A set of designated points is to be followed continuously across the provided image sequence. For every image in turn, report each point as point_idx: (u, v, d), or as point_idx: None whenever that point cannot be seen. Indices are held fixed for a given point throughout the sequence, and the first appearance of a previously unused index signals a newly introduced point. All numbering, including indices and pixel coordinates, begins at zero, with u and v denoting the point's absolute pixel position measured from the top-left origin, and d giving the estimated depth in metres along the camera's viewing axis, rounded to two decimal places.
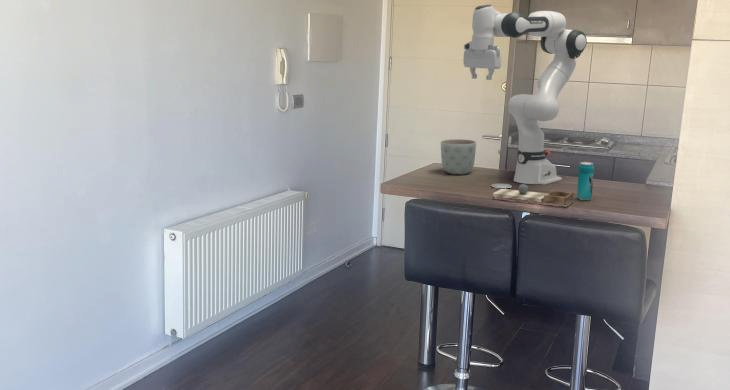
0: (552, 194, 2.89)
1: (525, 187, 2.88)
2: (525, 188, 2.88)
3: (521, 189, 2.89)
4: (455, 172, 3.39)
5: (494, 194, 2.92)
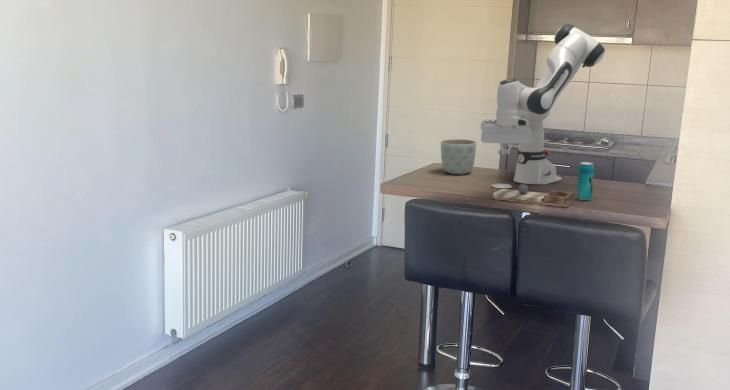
0: (552, 194, 2.89)
1: (525, 187, 2.88)
2: (525, 188, 2.88)
3: (521, 189, 2.89)
4: (455, 172, 3.39)
5: (494, 194, 2.92)
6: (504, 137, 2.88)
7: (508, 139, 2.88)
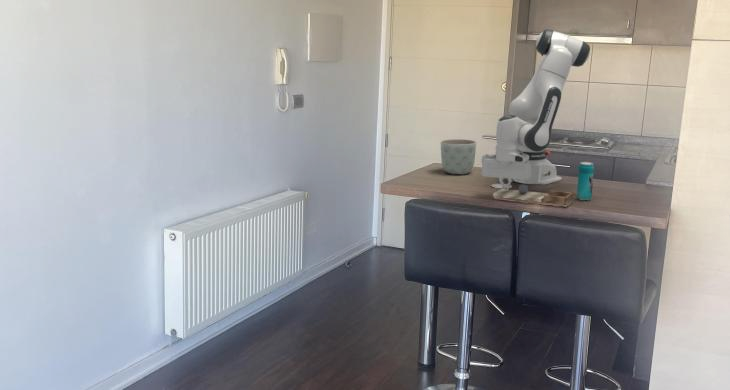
0: (552, 194, 2.89)
1: (525, 187, 2.88)
2: (525, 188, 2.88)
3: (521, 189, 2.89)
4: (455, 172, 3.39)
5: (494, 194, 2.92)
6: (503, 172, 2.91)
7: (506, 174, 2.91)
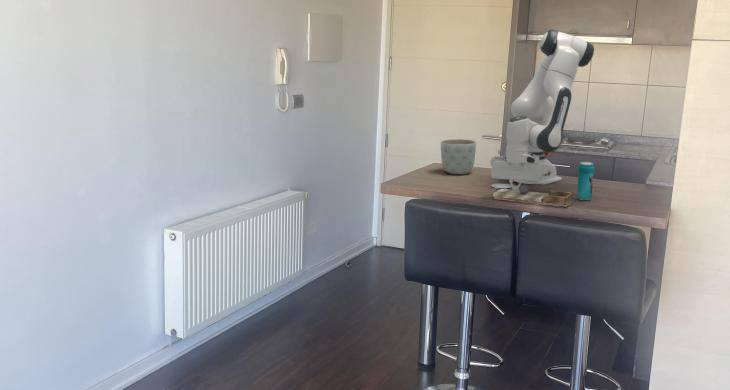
0: (552, 194, 2.89)
1: (526, 188, 2.88)
2: (526, 189, 2.88)
3: (522, 189, 2.88)
4: (455, 172, 3.39)
5: (494, 194, 2.92)
6: (513, 173, 2.89)
7: (517, 176, 2.89)
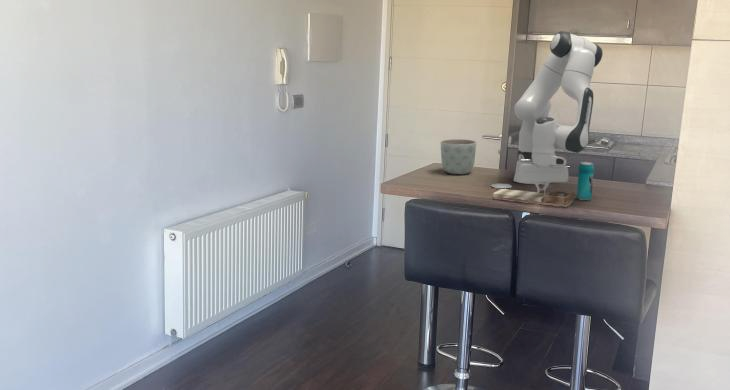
0: (552, 194, 2.89)
1: None
2: None
3: None
4: (455, 172, 3.39)
5: (494, 194, 2.92)
6: (541, 176, 2.83)
7: (544, 178, 2.84)
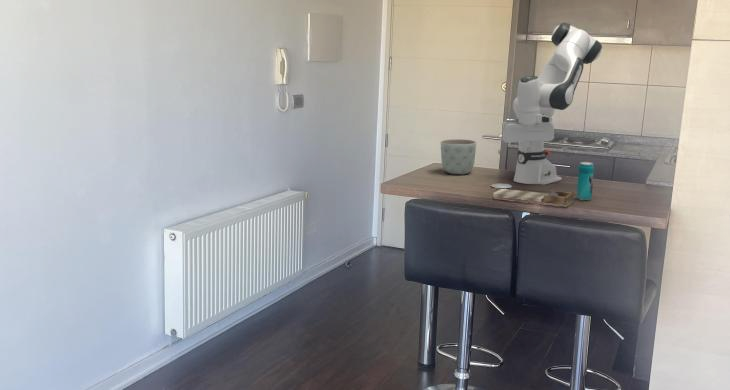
0: None
1: None
2: None
3: None
4: (455, 172, 3.39)
5: (494, 194, 2.92)
6: (527, 135, 2.83)
7: (531, 137, 2.83)
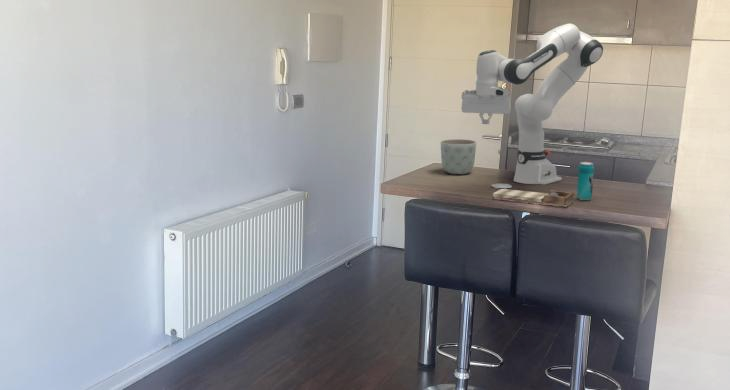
0: None
1: None
2: None
3: None
4: (455, 172, 3.39)
5: (494, 194, 2.92)
6: (483, 107, 2.96)
7: (486, 109, 2.95)
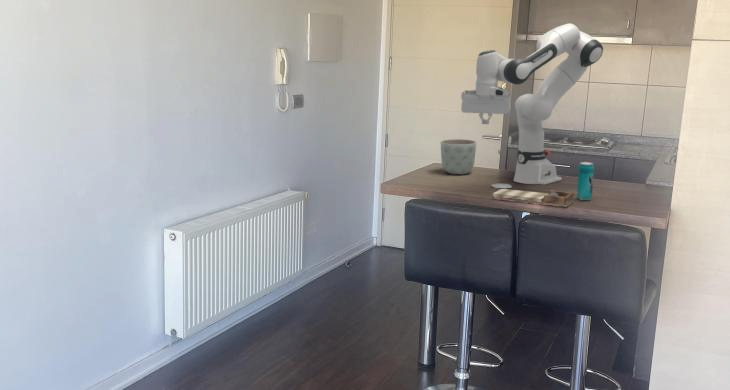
0: None
1: None
2: None
3: None
4: (455, 172, 3.39)
5: (494, 194, 2.92)
6: (483, 107, 2.96)
7: (486, 109, 2.95)
